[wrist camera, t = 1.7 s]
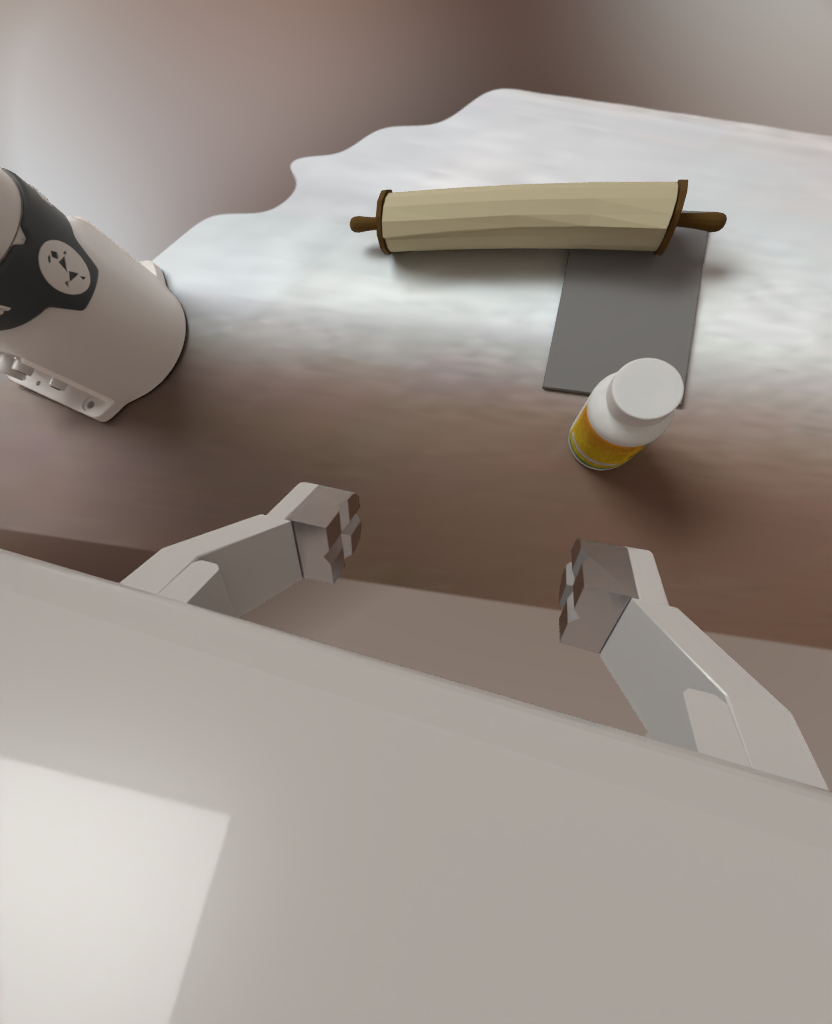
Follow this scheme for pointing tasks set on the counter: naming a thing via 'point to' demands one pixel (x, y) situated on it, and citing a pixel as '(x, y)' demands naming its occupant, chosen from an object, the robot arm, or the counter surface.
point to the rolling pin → (536, 217)
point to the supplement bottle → (626, 413)
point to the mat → (625, 311)
